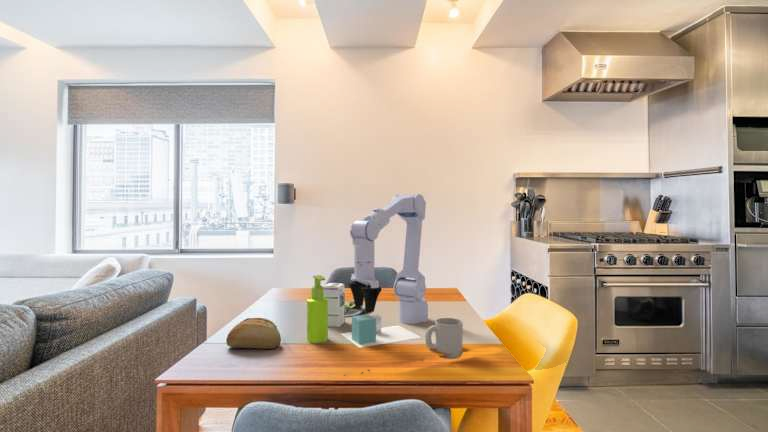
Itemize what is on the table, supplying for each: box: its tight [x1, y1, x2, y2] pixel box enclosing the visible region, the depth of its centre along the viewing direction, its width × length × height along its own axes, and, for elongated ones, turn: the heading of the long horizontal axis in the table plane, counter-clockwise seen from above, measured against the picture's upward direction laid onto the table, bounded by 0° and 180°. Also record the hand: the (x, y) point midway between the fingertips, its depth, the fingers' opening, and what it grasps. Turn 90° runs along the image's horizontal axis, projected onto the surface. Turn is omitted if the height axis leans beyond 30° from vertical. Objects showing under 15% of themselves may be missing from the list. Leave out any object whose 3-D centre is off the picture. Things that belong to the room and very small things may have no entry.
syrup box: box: [322, 282, 346, 328], centre depth 133 cm, size 6×6×14 cm
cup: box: [424, 317, 464, 360], centre depth 109 cm, size 7×10×9 cm
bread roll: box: [226, 317, 282, 350], centre depth 115 cm, size 10×15×8 cm, turn 94°
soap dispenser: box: [306, 274, 329, 344], centre depth 116 cm, size 6×7×20 cm
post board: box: [340, 325, 422, 349], centre depth 121 cm, size 20×14×2 cm
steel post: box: [369, 314, 382, 334], centre depth 124 cm, size 3×3×5 cm
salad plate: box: [345, 299, 366, 319], centre depth 152 cm, size 19×18×5 cm
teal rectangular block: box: [351, 313, 376, 344], centre depth 116 cm, size 5×5×7 cm
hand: (364, 309), depth 117 cm, fingers open, 7 cm apart
